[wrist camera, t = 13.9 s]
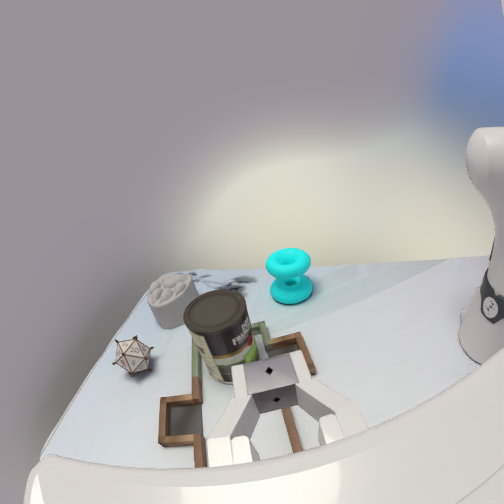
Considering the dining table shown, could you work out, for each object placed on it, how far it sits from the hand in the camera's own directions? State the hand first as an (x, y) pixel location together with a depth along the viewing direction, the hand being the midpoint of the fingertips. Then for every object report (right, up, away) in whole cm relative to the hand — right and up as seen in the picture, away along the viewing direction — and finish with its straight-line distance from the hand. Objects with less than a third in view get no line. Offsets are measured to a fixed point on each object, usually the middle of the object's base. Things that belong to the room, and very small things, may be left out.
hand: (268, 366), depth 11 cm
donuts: (+9, -5, +53) cm, 54 cm away
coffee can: (-4, -16, +38) cm, 41 cm away
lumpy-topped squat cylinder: (-19, -10, +55) cm, 59 cm away
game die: (-24, -20, +39) cm, 50 cm away
